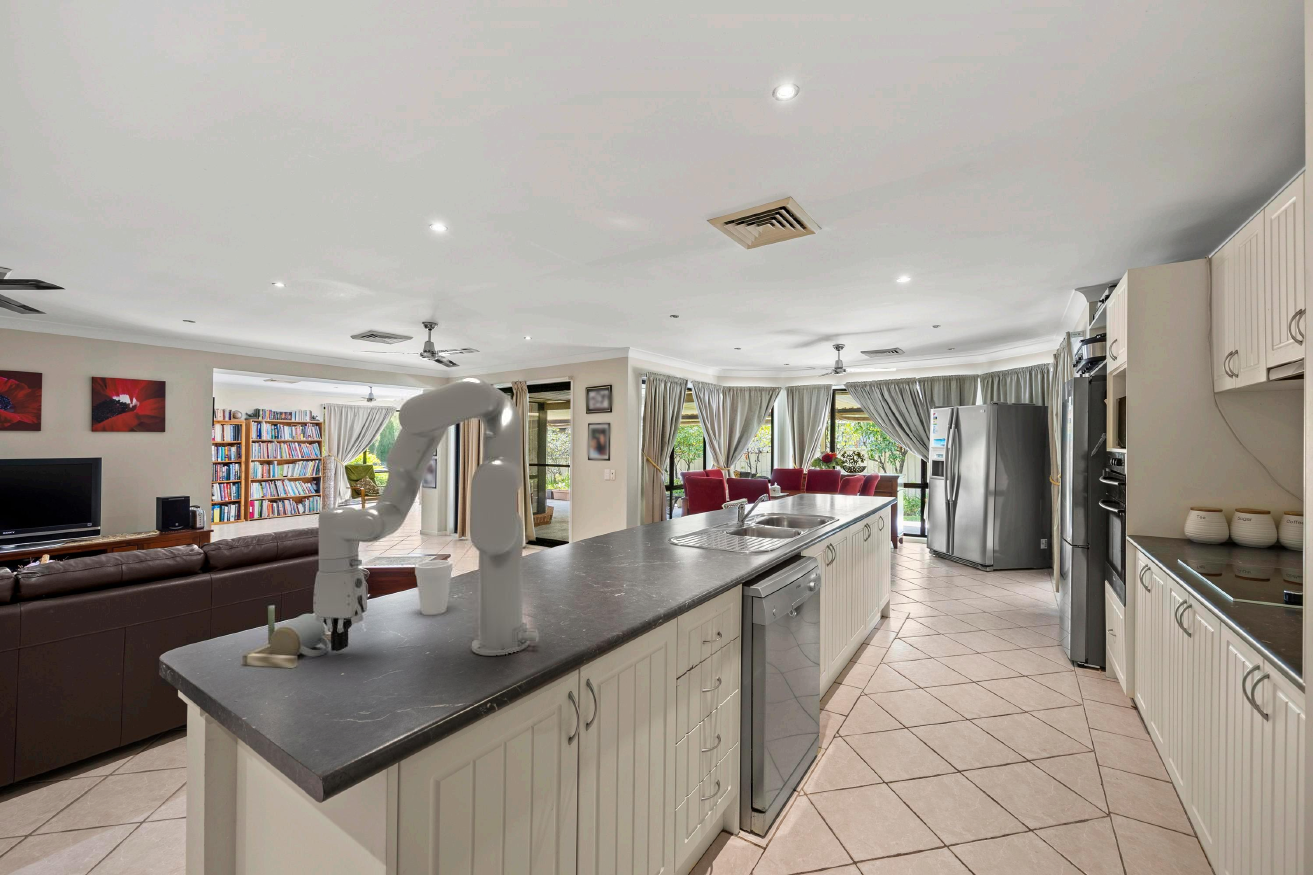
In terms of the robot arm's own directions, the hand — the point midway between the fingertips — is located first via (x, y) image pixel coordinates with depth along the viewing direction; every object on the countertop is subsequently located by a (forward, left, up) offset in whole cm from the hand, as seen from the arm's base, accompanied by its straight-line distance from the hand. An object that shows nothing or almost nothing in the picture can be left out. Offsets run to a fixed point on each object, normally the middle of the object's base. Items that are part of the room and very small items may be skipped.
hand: (339, 648), depth 120 cm
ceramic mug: (+9, 0, -2) cm, 9 cm away
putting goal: (+10, 0, -1) cm, 10 cm away
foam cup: (-3, -32, -2) cm, 32 cm away
